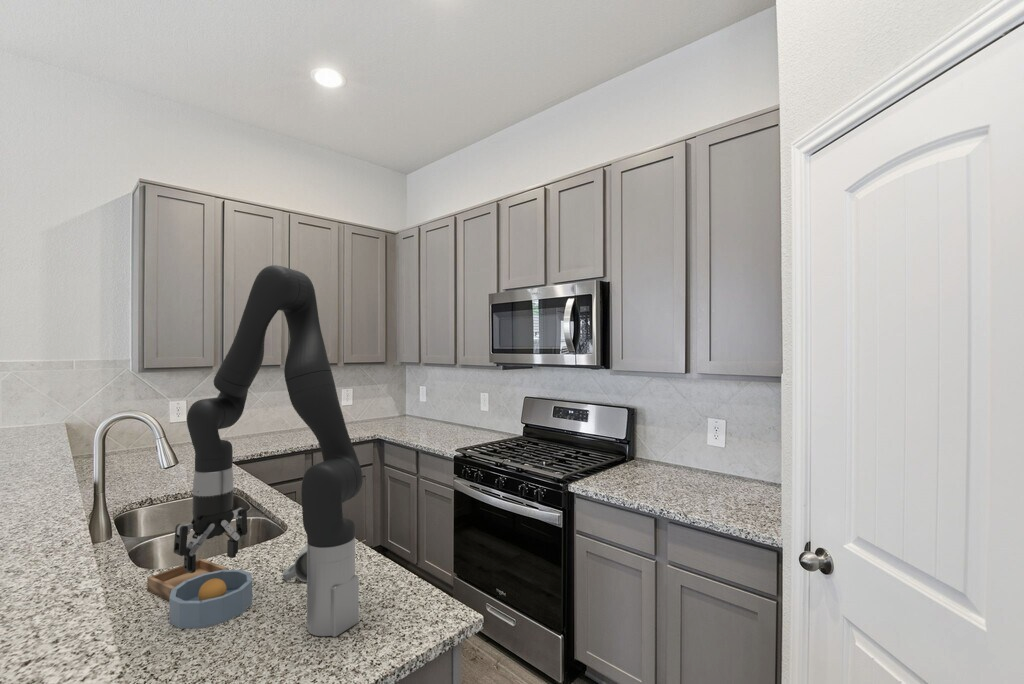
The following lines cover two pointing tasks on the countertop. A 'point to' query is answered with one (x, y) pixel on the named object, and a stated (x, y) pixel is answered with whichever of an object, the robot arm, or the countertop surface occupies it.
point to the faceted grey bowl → (210, 600)
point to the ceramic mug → (298, 567)
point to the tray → (178, 577)
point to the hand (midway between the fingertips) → (212, 564)
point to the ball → (212, 589)
